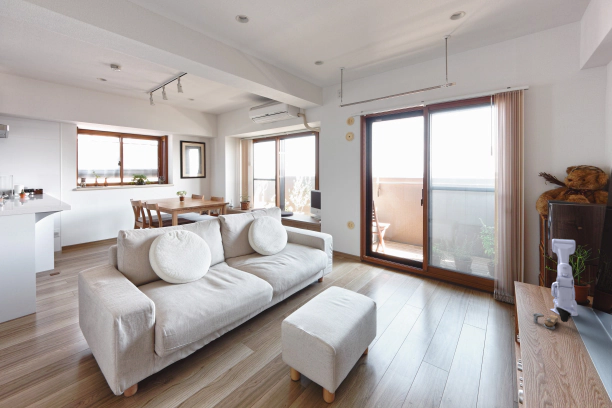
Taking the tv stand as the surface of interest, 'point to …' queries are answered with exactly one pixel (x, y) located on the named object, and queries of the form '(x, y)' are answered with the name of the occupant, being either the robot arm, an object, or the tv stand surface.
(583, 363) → the tv stand surface
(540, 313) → the block
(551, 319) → the link
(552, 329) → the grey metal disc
